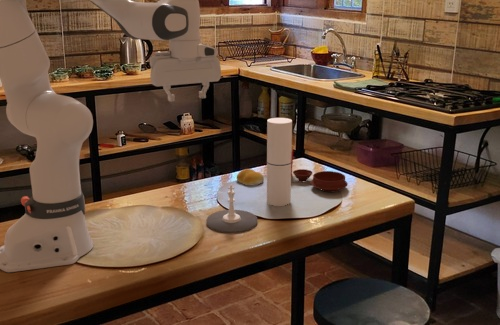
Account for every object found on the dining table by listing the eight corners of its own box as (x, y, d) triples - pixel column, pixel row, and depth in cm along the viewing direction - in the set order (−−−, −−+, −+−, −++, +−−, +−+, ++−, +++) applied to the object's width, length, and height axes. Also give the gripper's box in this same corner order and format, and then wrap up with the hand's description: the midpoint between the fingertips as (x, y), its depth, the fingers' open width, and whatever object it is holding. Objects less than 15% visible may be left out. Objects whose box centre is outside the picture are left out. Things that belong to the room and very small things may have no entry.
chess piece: (226, 215, 158) (225, 181, 155) (242, 216, 157) (242, 183, 154) (220, 221, 154) (219, 187, 151) (237, 223, 152) (236, 189, 149)
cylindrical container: (264, 204, 168) (264, 122, 160) (270, 196, 174) (270, 117, 166) (287, 207, 166) (289, 124, 158) (292, 198, 172) (294, 118, 165)
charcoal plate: (219, 236, 146) (219, 234, 146) (198, 217, 158) (198, 215, 158) (266, 226, 153) (266, 223, 152) (243, 208, 164) (243, 206, 164)
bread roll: (250, 188, 182) (250, 176, 181) (232, 181, 188) (232, 169, 187) (269, 182, 187) (269, 170, 186) (251, 175, 193) (251, 164, 192)
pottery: (331, 198, 173) (332, 185, 171) (283, 182, 186) (283, 170, 185) (354, 189, 181) (355, 176, 179) (306, 174, 194) (306, 162, 193)
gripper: (152, 53, 150) (155, 104, 154) (222, 49, 159) (223, 97, 163) (145, 51, 155) (148, 100, 159) (213, 47, 164) (214, 94, 168)
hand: (187, 99), depth 161 cm, fingers open, 8 cm apart
